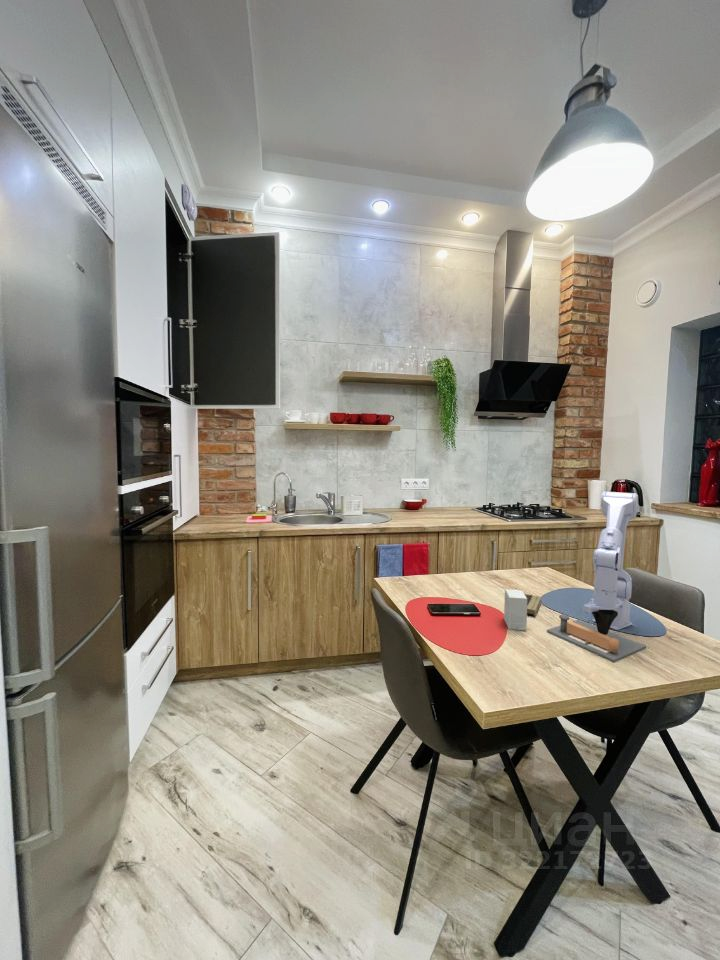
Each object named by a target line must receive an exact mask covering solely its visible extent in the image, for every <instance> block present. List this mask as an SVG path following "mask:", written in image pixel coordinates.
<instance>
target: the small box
mask: <svg viewBox="0 0 720 960" xmlns="http://www.w3.org/2000/svg"><path fill="white" fill-rule="evenodd" d="M525 595H526V594H525V593H524V591H523V590H518V589H507V588H505V589H504V604H503V605H504V607H503V608H504V609H503V620H504V622H505V624H506V626H507V628H508V630H515V631H516V630H517V631H527V623H528V621H527V619H528V616H527V597H526V596H525Z"/></svg>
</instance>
